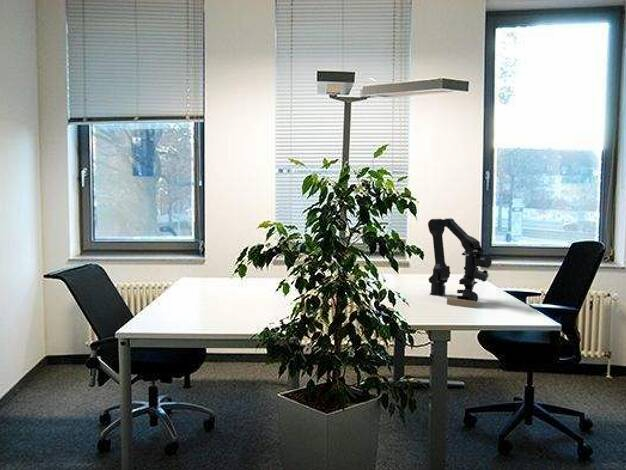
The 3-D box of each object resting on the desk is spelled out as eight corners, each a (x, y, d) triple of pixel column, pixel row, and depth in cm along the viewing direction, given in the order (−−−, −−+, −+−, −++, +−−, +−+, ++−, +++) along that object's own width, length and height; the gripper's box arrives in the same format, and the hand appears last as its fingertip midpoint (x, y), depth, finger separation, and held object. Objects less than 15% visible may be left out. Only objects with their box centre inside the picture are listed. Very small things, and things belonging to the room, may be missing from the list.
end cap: (478, 305, 310) (478, 291, 310) (463, 305, 309) (464, 292, 309) (469, 301, 320) (470, 288, 320) (456, 301, 319) (456, 288, 319)
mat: (446, 304, 313) (447, 298, 312) (456, 299, 326) (456, 293, 326) (475, 308, 306) (475, 301, 306) (483, 302, 319) (484, 296, 319)
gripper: (482, 269, 308) (481, 301, 310) (491, 263, 324) (490, 294, 326) (459, 267, 313) (458, 299, 315) (469, 261, 329) (468, 291, 331)
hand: (469, 296), depth 322 cm, fingers closed
